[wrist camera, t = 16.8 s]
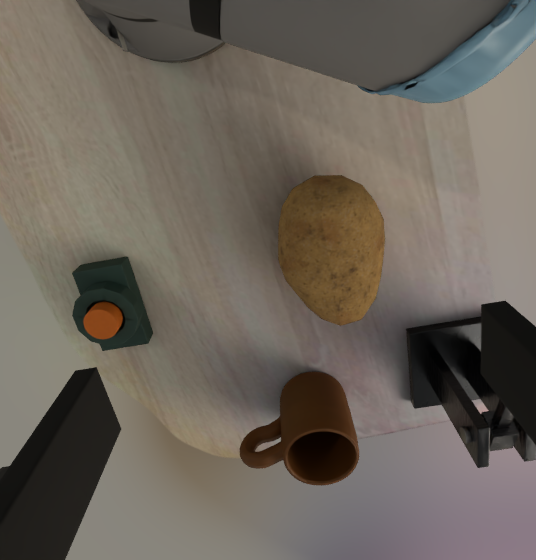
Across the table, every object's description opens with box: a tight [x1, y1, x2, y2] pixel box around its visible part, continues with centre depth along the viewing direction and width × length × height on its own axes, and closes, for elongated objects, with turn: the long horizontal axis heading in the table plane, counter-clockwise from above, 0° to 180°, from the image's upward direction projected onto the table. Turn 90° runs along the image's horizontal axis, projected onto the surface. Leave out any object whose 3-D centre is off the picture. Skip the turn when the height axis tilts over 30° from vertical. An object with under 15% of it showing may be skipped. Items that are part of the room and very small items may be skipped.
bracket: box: [406, 317, 536, 468], centre depth 43 cm, size 10×9×13 cm
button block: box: [72, 257, 153, 351], centre depth 44 cm, size 9×6×4 cm
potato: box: [278, 175, 385, 326], centre depth 39 cm, size 10×14×8 cm
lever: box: [481, 400, 520, 451], centre depth 35 cm, size 13×6×2 cm, turn 10°
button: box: [84, 302, 123, 339], centre depth 41 cm, size 3×3×2 cm
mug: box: [240, 372, 359, 485], centre depth 46 cm, size 12×8×9 cm, turn 101°
